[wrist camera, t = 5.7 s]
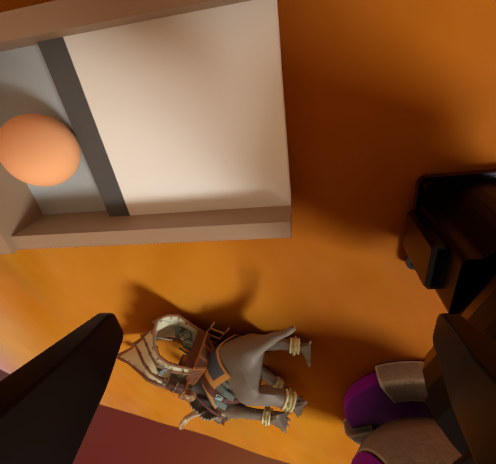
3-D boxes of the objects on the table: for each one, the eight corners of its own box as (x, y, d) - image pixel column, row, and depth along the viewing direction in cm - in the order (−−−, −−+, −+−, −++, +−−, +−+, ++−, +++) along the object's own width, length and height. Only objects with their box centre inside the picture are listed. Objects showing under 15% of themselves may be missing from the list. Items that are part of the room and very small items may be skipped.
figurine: (261, 475, 30) (95, 427, 30) (268, 411, 35) (126, 369, 34) (349, 373, 18) (75, 292, 18) (340, 297, 23) (125, 233, 23)
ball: (-41, 125, 15) (7, 116, 18) (2, 202, 16) (38, 180, 20) (43, 110, 15) (75, 105, 18) (77, 188, 17) (99, 169, 20)
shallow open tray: (275, -28, 14) (268, -51, 10) (291, 208, 20) (291, 242, 16) (-57, 41, 17) (-143, 40, 14) (43, 224, 23) (0, 254, 20)
